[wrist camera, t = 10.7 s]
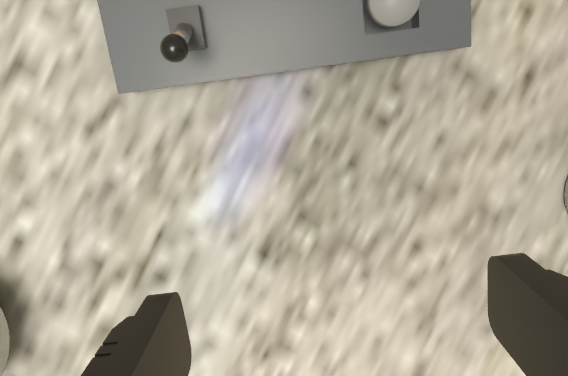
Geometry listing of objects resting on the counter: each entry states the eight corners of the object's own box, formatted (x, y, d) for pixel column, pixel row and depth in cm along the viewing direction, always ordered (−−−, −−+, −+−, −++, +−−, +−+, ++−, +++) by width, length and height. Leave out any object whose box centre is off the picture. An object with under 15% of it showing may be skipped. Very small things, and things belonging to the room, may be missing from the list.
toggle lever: (194, 15, 31) (182, 36, 27) (199, 39, 32) (189, 64, 28) (169, 18, 31) (154, 40, 27) (176, 43, 32) (162, 68, 28)
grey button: (413, -28, 32) (419, -33, 30) (415, 23, 33) (421, 21, 31) (364, -21, 32) (368, -26, 30) (368, 30, 33) (372, 28, 31)
